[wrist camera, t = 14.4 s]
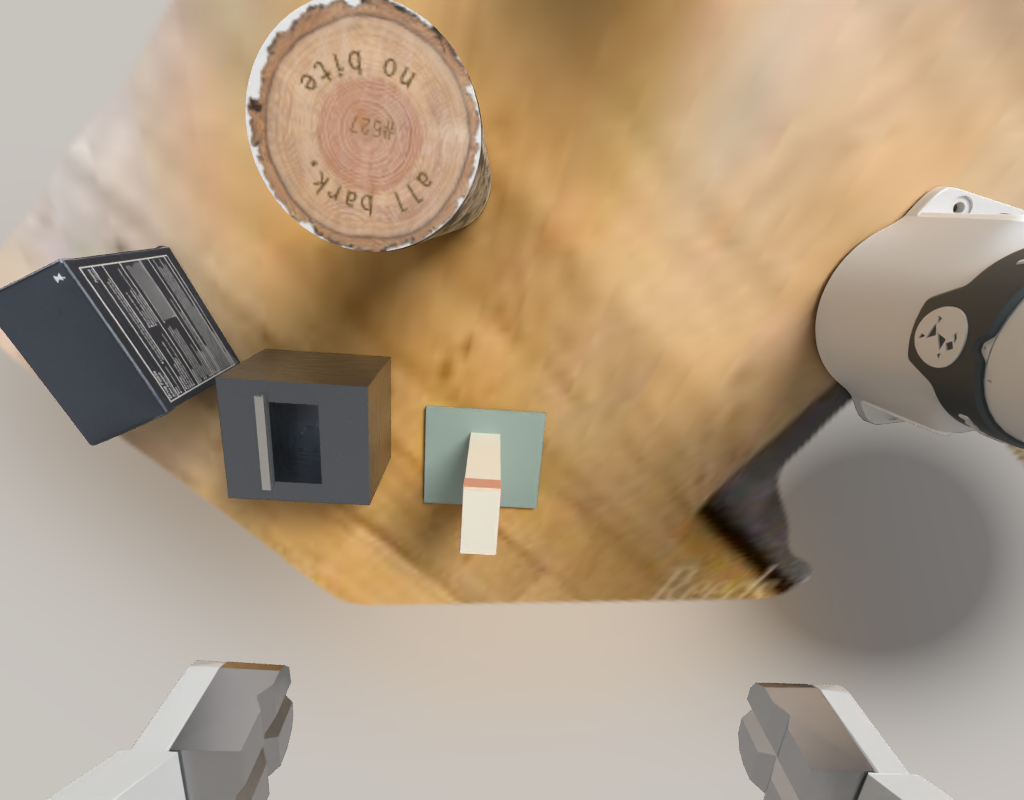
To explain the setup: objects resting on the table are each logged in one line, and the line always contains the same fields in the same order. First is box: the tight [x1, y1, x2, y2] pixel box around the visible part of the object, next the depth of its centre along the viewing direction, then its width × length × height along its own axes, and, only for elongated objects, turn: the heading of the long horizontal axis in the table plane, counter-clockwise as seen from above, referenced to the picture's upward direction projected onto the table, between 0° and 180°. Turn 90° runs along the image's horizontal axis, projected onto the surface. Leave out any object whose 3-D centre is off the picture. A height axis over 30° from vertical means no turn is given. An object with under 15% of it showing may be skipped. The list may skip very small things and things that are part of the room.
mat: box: [424, 406, 546, 508], centre depth 46 cm, size 10×9×1 cm
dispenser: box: [215, 349, 391, 505], centre depth 41 cm, size 10×9×8 cm
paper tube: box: [246, 0, 491, 252], centre depth 27 cm, size 7×7×25 cm
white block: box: [460, 432, 501, 555], centre depth 41 cm, size 3×5×10 cm, turn 176°
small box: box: [0, 246, 240, 445], centre depth 37 cm, size 11×6×10 cm, turn 23°
